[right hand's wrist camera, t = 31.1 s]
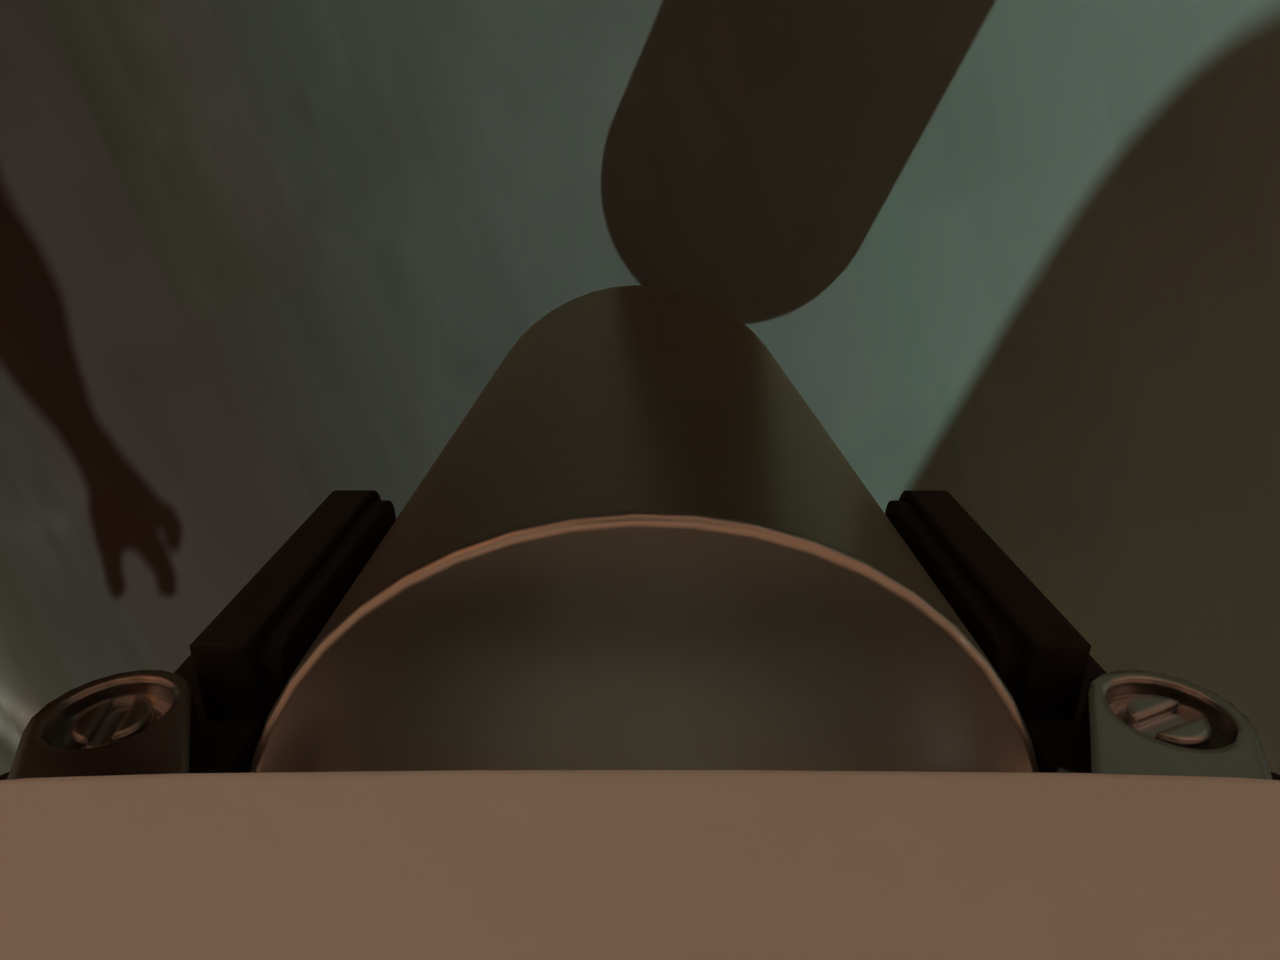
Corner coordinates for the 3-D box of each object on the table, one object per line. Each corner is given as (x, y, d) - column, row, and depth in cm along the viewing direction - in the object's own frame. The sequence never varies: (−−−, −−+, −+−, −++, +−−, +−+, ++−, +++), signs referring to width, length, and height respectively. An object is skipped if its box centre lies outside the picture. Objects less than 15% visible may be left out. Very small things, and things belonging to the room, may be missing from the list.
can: (778, 259, 16) (1060, 448, 5) (807, 557, 19) (1040, 1097, 8) (450, 313, 17) (111, 589, 6) (520, 598, 19) (368, 1169, 8)
